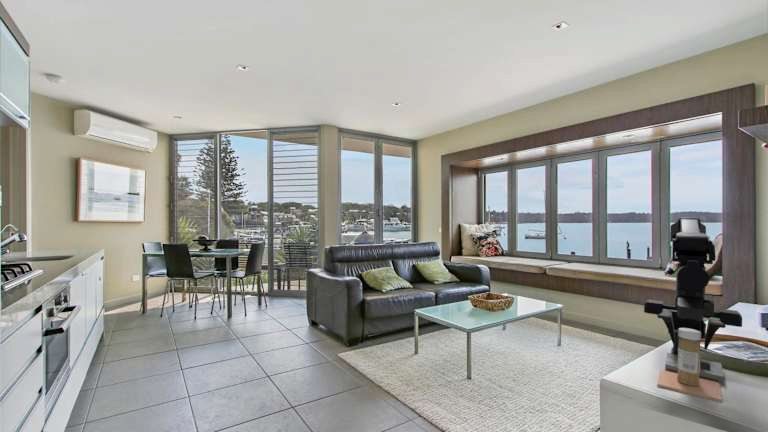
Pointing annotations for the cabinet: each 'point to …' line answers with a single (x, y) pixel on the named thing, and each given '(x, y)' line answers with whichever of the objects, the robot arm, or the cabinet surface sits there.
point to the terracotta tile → (703, 390)
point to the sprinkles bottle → (689, 356)
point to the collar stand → (713, 367)
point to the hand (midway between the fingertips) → (689, 346)
